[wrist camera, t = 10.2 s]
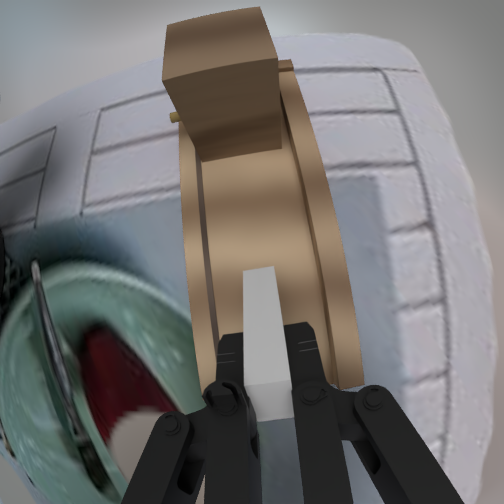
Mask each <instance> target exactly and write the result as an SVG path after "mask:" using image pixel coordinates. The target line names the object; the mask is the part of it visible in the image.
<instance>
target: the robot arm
mask: <svg viewBox="0 0 504 504" xmlns="http://www.w3.org/2000/svg"><path fill="white" fill-rule="evenodd" d="M3 278H4V243H3V237H2V233H1V230H0V297H1V292H2V286H3ZM202 398H203V399H204V401H205V403H206V404H207V406H206V407H205V408H203V409H201V410H199V411H196V412H193V413H191V414H187V415H184V414H183V413H180V412H178V411H171V412H167V413H165V414H163V415H162V416H160V417H159V418H158V420H157V421H156V423H155V426H154V428H153V430H152V432H151V435H150V437H149V439H148V442H147V444H146V446H145V448H144V450H143V453H142V455H141V458H140V460H139V462H138V464H137V467H136V469H135V472H134V474H133V476H132V478H131V481H130V483H129V485H128V488H127V490H126V492H125V495H124V497H123V500H122V502H121V504H195V502H196V499H197V497H198V494H199V490H200V487H201V484H202V481H203V478H204V475H205V494H204V504H262V486H261V467H260V447H259V434H258V430H257V424H256V419H257V421H258V422H262V421H270V420H278V419H286V418H293V417H294V418H295V427H296V435H297V443H298V451H299V460H300V469H301V477H302V486H303V495H304V504H353V499H352V493H351V487H350V482H349V477H348V471H347V466H346V461H345V456H344V451H343V446H342V441H341V440H349V441H351V443H352V445H353V447H354V448H355V450H356V452H357V454H358V456H359V458H360V459H361V461H362V463H363V465H364V467H365V469H366V470H367V472H368V474H369V476H370V478H371V480H372V481H373V483H374V485H375V487H376V489H377V490H378V492H379V494H380V496H381V498H382V500H383V501H384V503H385V504H464V502H463V501H462V499H461V498H460V496H459V494H458V493H457V491H456V490H455V488H454V487H453V485H452V483H451V482H450V480H449V479H448V477H447V476H446V474H445V473H444V471H443V470H442V468H441V467H440V465H439V464H438V462H437V460H436V459H435V457H434V456H433V454H432V453H431V451H430V450H429V448H428V447H427V445H426V444H425V442H424V441H423V440H422V438H421V437H420V435H419V434H418V432H417V431H416V429H415V428H414V426H413V425H412V423H411V422H410V420H409V419H408V417H407V416H406V415H405V413H404V412H403V410H402V409H401V407H400V406H399V404H398V403H397V402H396V400H395V399H394V397H393V396H392V394H391V393H390V392H389V391H388V390H387V389H386V388H384V387H382V386H379V385H370V386H366V387H364V388H362V389H361V390H359V391H358V392H348V391H341V390H338V389H335V388H334V387H332V386H331V385H330V384H329V383H328V382H327V380H326V377H325V373H324V369H323V365H322V361H321V356H320V352H319V349H318V344H317V341H316V336H315V332H314V329H313V328H312V327H311V326H310V324H309V323H308V322H307V321H306V322H300V323H294V324H288V325H283V320H282V314H281V307H280V301H279V294H278V288H277V282H276V276H275V270H274V266H270V267H264V268H258V269H252V270H246V271H243V332H239V333H231V334H223V336H222V338H221V340H220V341H219V343H218V350H217V365H216V380H215V381H214V382H212V383H211V384H209V385H208V386H207V387H206V388H205V390H204V391H203V395H202Z"/></svg>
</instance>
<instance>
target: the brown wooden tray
mask: <svg viewBox="0 0 504 504" xmlns="http://www.w3.org/2000/svg"><path fill="white" fill-rule="evenodd" d="M278 67H279V86H280V109H281V136H282V149H278V150H271V151H264V152H258V153H252V154H246V155H240V156H235V157H229V158H224V159H219V160H213V161H208V162H203V163H202V161H201V159H200V157H199V155H198V153H197V151H196V149H195V147H194V145H193V143H192V141H191V139H190V137H189V135H188V133H187V131H186V129H185V127H184V125H183V123H182V121H179V161H180V187H181V206H182V222H183V236H184V249H185V261H186V272H187V283H188V293H189V302H190V311H191V320H192V328H193V336H194V344H195V351H196V358H197V365H198V372H199V379H200V385H201V392H202V395H203V391H204V390H205V388H206V387H207V386H208V385H209V384H211V383H212V382H214V381H215V380H216V365H217V350H218V343H219V341H220V340H221V338H222V336H223V334H231V333H239V332H243V271H246V270H252V269H258V268H264V267H270V266H274V270H275V276H276V282H277V288H278V294H279V301H280V307H281V314H282V320H283V325H288V324H294V323H300V322H306V321H307V322H308V323H309V324H310V326H311V327H312V328H313V329H314V332H315V336H316V341H317V344H318V349H319V352H320V356H321V361H322V365H323V369H324V373H325V377H326V380H327V382H328V383H329V384H335V385H336V386H337V388H338V389H339V390H343V389H347V388H352V387H356V386H361V385H365V384H364V375H363V366H362V358H361V350H360V343H359V335H358V329H357V322H356V316H355V309H354V303H353V297H352V292H351V286H350V281H349V275H348V270H347V265H346V260H345V255H344V250H343V245H342V241H341V236H340V231H339V227H338V223H337V218H336V214H335V210H334V206H333V201H332V197H331V193H330V189H329V185H328V182H327V178H326V174H325V170H324V167H323V163H322V159H321V156H320V152H319V149H318V145H317V142H316V138H315V135H314V132H313V128H312V125H311V122H310V119H309V116H308V112H307V109H306V106H305V103H304V100H303V97H302V94H301V91H300V88H299V85H298V82H297V79H296V77H295V74H294V67H293V64H292V61H291V59H290V60H280V61H278ZM203 400H204V399H203Z"/></svg>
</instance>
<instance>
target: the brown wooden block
mask: <svg viewBox="0 0 504 504" xmlns="http://www.w3.org/2000/svg"><path fill="white" fill-rule="evenodd" d="M162 82H163V84H164V86H165V88H166V90H167V92H168V94H169V96H170V99H171V101H172V103H173V105H174V107H175V109H176V111H177V112H173V113H170V120H171V122H172V123H175V122H179V121H182V123H183V125H184V127H185V129H186V131H187V133H188V135H189V137H190V139H191V141H192V143H193V145H194V147H195V149H196V151H197V153H198V155H199V157H200V159H201V161H202V163H203V162H208V161H213V160H219V159H224V158H229V157H235V156H240V155H246V154H252V153H258V152H264V151H271V150H278V149H282V136H281V109H280V86H279V67H278V56H277V53H276V50H275V47H274V44H273V42H272V39H271V36H270V33H269V30H268V28H267V25H266V22H265V19H264V17H263V14H262V11H261V9H260V7H252V8H245V9H238V10H232V11H226V12H221V13H215V14H210V15H206V16H201V17H197V18H192V19H188V20H184V21H181V22H177V23H173V24H169V25H167V31H166V40H165V49H164V59H163V71H162Z"/></svg>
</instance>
